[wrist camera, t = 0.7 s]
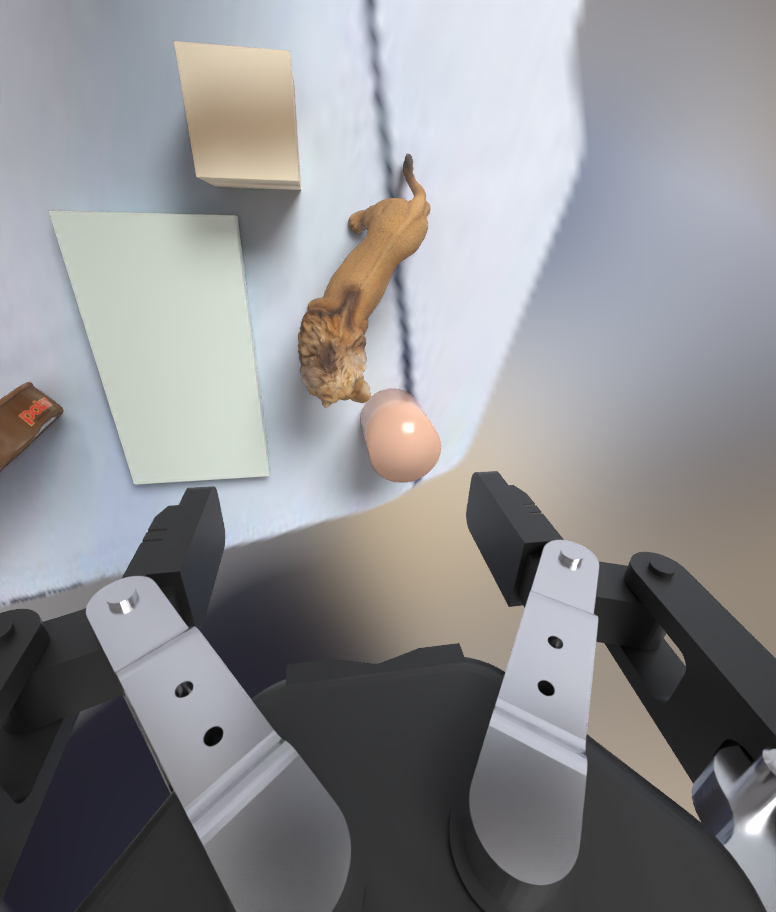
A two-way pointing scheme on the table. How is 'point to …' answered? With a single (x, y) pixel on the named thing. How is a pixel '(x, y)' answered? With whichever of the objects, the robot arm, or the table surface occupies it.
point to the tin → (24, 420)
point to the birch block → (240, 115)
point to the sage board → (170, 339)
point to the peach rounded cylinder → (399, 436)
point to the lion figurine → (358, 295)
